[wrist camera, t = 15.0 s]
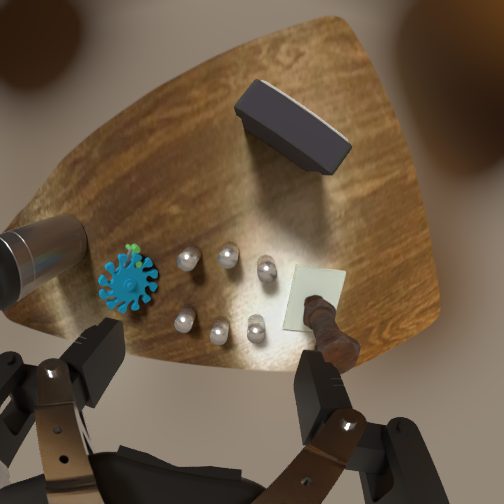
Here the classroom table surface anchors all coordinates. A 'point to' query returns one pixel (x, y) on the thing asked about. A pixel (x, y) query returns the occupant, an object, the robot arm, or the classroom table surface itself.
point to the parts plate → (311, 292)
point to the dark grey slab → (291, 128)
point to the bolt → (330, 334)
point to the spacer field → (221, 324)
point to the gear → (128, 280)
